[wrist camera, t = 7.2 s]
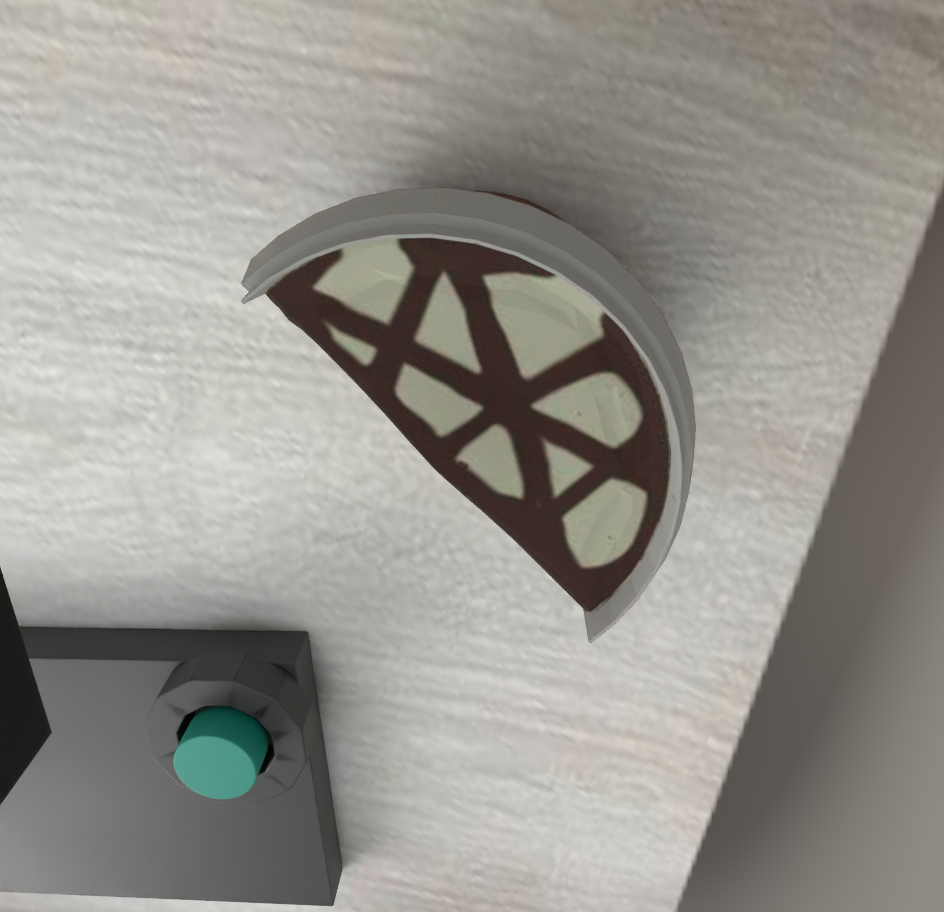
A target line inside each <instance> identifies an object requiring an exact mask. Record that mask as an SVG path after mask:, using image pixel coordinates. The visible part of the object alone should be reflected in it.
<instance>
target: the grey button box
mask: <svg viewBox="0 0 944 912" xmlns="http://www.w3.org/2000/svg"><path fill="white" fill-rule="evenodd" d="M19 629H20V632H21V635H22V638H23V641H24V645H25V648H26V651H27V654H28V657H29V661H30V664H31V667H32V670H33V673H34V677H35V680H36V683H37V686H38V689H39V693H40V696H41V699H42V702H43V705H44V709H45V712H46V715H47V718H48V721H49V725H50V728H51V731H52V733H51V735H50V736H49V738H48V739H47V740H46V742H45V743H44V745H43V746H42V747H41V749H40V750H39V752H38V753H37V754H36V756H35V757H34V759H33V760H32V761H31V763H30V764H29V766H28V767H27V768H26V770H25V771H24V773H23V774H22V776H21V777H20V778H19V780H18V781H17V783H16V784H15V785H14V787H13V788H12V790H11V791H10V792H9V794H8V795H7V797H6V798H5V799H4V801H3V802H2V804H1V805H0V892H23V893H46V894H68V895H91V896H114V897H137V898H159V899H182V900H205V901H227V902H250V903H273V904H296V905H318V906H333V905H334V901H335V897H336V893H337V889H338V885H339V881H340V877H341V873H342V864H341V857H340V851H339V844H338V837H337V830H336V823H335V816H334V810H333V803H332V796H331V789H330V782H329V775H328V769H327V762H326V755H325V748H324V741H323V734H322V727H321V721H320V714H319V707H318V700H317V693H316V686H315V680H314V673H313V666H312V659H311V652H310V645H309V639H308V633H307V632H273V631H209V630H145V629H82V628H19ZM216 706H225V707H232V708H235V709H238V710H240V711H242V712H244V713H247V714H249V715H251V716H252V717H254V718H255V719H256V720H257V721H258V722H259V723H260V724H261V725H262V727H263V728H264V730H265V732H266V734H267V738H268V750H267V753H266V756H265V758H264V761H263V763H262V766H261V768H260V771H259V773H258V776H257V778H256V781H255V783H254V785H253V786H252V788H251V789H250V790H249V791H248V792H246V793H245V794H243V795H241V796H239V797H236V798H232V799H214V798H209V797H206V796H203V795H201V794H198V793H196V792H195V791H193V790H191V789H190V788H189V787H187V786H186V785H185V784H184V783H183V782H182V781H181V780H180V778H179V777H178V775H177V773H176V771H175V768H174V753H175V751H176V749H177V747H178V745H179V743H180V741H181V739H182V737H183V735H184V733H185V732H186V730H187V728H188V726H189V724H190V722H191V720H192V719H193V718H194V716H195V715H197V714H198V713H199V712H201V711H203V710H205V709H207V708H211V707H216Z"/></svg>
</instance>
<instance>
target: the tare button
mask: <svg viewBox="0 0 944 912" xmlns="http://www.w3.org/2000/svg"><path fill="white" fill-rule="evenodd" d="M267 750H268V738H267V734H266V732H265V730H264V728H263V727H262V725H261V724H260V723H259V722H258V721H257V720H256V719H255V718H254V717H252V716H251V715H249V714H247V713H244V712H242V711H240V710H238V709H235V708H232V707H225V706H216V707H211V708H207V709H205V710H203V711H201V712H199V713H198V714H197V715H195V716H194V718H193V719H192V720H191V722H190V724H189V726H188V728H187V730H186V732H185V733H184V735H183V737H182V739H181V741H180V743H179V745H178V747H177V749H176V751H175V753H174V768H175V771H176V773H177V775H178V777H179V778H180V780H181V781H182V782H183V783H184V784H185V785H186V786H187V787H189V788H190V789H191V790H193V791H195V792H196V793H198V794H201V795H203V796H206V797H209V798H214V799H232V798H236V797H239V796H241V795H243V794H245V793H246V792H248V791H249V790H250V789H251V788H252V786H253V785H254V783H255V781H256V778H257V776H258V773H259V771H260V768H261V766H262V763H263V761H264V758H265V756H266V753H267Z"/></svg>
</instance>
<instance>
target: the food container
mask: <svg viewBox="0 0 944 912" xmlns="http://www.w3.org/2000/svg"><path fill="white" fill-rule="evenodd" d="M241 284H242V285H243V286H244V287H245V288H246V289H247V290H248V291H249V292H248V293H247V295H246V296H245V297H244V298H243V299H242V300H241V302H242V303H243V304H245V303H247V302H249V301H251V300H253V299H255V298H257V297H259V296H261V295H263V294H266V295H267V296H268V297H269V298H270V300H271V301H272V302H273V303H274V304H275V305H276V306H278V307H279V308H280V310H281V311H282V312H283V313H284V315H285V316H286V317H287V318H288V320H289V321H291V322H292V323H294V324H295V325H296V326H298V327H299V328H300V329H302V330H303V331H304V332H305V333H306V334H307V335H308V336H309V337H310V338H311V339H313V340H314V341H315V342H316V343H317V344H318V345H319V346H320V347H321V348H322V349H323V350H324V351H325V352H326V353H327V354H328V355H329V356H330V357H331V358H332V359H333V360H334V361H335V362H336V363H337V364H338V365H339V366H340V367H341V368H342V369H343V370H344V371H345V372H346V373H347V374H348V375H349V376H350V377H351V378H352V379H353V380H354V382H355V383H356V384H357V385H358V386H359V387H360V388H361V389H362V390H363V391H364V392H365V393H366V394H367V395H368V396H369V397H370V399H371V400H372V401H373V402H374V403H375V404H376V405H377V406H378V407H379V408H380V409H381V410H382V411H383V412H384V413H385V415H386V416H387V417H388V418H389V419H390V420H391V421H392V422H393V424H394V425H395V426H396V427H397V428H398V429H399V430H400V431H401V433H402V434H403V435H404V436H405V437H406V438H407V439H408V440H409V442H410V443H411V444H412V445H413V446H414V447H415V448H416V449H417V450H418V451H419V452H420V453H421V455H422V456H423V457H424V458H425V459H426V460H427V461H428V462H429V463H430V465H431V466H432V467H433V468H434V469H435V470H436V471H437V472H438V473H439V474H441V475H442V476H443V477H444V478H445V479H446V480H447V481H448V482H449V483H451V484H452V485H453V486H454V487H455V488H456V489H457V490H458V491H460V492H461V493H462V494H463V495H464V496H465V497H466V498H468V499H469V500H470V501H471V502H472V503H474V504H475V505H476V506H477V507H478V508H479V509H481V510H482V511H483V512H484V513H485V514H486V515H487V516H488V517H489V518H491V519H492V520H493V521H494V522H495V523H496V524H497V525H498V526H499V527H500V528H502V529H503V530H504V531H505V532H506V533H507V534H508V535H509V536H510V537H512V538H513V539H514V540H515V541H516V542H517V543H518V544H519V545H520V546H521V547H522V548H523V549H524V550H525V551H526V552H527V553H528V554H529V555H530V556H531V557H532V558H533V559H534V560H535V561H536V562H537V563H538V564H539V565H540V566H541V567H542V568H543V569H544V570H545V571H546V572H547V573H548V574H549V575H550V576H551V577H552V578H553V579H554V580H555V581H556V582H557V583H558V584H559V585H560V586H561V587H562V588H563V589H564V590H565V591H566V592H567V593H568V594H569V595H570V596H571V597H572V598H573V599H574V600H575V601H576V602H577V603H578V604H579V605H580V606H581V607H582V608H583V610H584V616H585V622H586V629H587V635H588V641H589V642H590V643H592V642H593V641H594V640H596V639H597V638H598V637H599V636H601V635H602V634H603V633H605V632H606V631H607V630H608V629H610V628H611V627H612V626H613V625H615V624H616V623H617V622H618V621H619V619H620V618H621V617H622V616H623V615H624V614H625V613H626V612H627V611H628V610H629V609H630V608H631V607H632V606H633V604H634V603H635V602H636V601H637V600H638V599H639V598H640V596H641V595H642V593H643V592H644V590H645V589H646V587H647V586H648V584H649V583H650V581H651V580H652V578H653V577H654V575H655V574H656V572H657V571H658V569H659V568H660V567H661V565H662V564H663V562H664V561H665V559H666V557H667V555H668V552H669V550H670V548H671V546H672V544H673V541H674V539H675V537H676V535H677V532H678V530H679V528H680V525H681V521H682V517H683V513H684V509H685V506H686V502H687V498H688V494H689V489H690V482H691V475H692V469H693V460H694V446H695V432H696V424H695V414H694V404H693V395H692V388H691V384H690V381H689V377H688V374H687V370H686V367H685V363H684V360H683V356H682V353H681V350H680V348H679V346H678V344H677V342H676V340H675V338H674V336H673V334H672V332H671V330H670V328H669V326H668V324H667V322H666V319H665V317H664V315H663V314H662V313H661V311H660V310H659V308H658V307H657V306H656V304H655V303H654V301H653V300H652V299H651V297H650V296H649V294H648V293H647V292H646V290H645V289H644V288H643V286H642V285H641V283H640V282H639V281H638V280H637V279H636V278H635V277H634V276H633V275H632V274H631V273H630V272H629V271H628V270H627V269H626V268H625V267H624V266H623V265H622V264H621V263H620V262H619V261H618V260H617V259H616V258H615V257H614V256H613V255H612V254H611V253H610V252H609V251H608V250H606V249H605V248H603V247H602V246H600V245H599V244H598V243H596V242H595V241H593V240H592V239H590V238H589V237H588V236H586V235H585V234H583V233H582V232H580V231H579V230H578V229H576V228H575V227H573V226H572V225H570V224H568V223H566V222H564V221H563V220H562V219H560V218H559V217H557V216H556V215H554V214H553V213H551V212H550V211H549V210H547V209H544V208H542V207H540V206H538V205H536V204H534V203H532V202H529V201H527V200H525V199H521V198H517V197H514V196H510V195H507V194H503V193H495V192H486V191H466V190H458V189H450V188H420V189H397V190H393V191H388V192H383V193H378V194H373V195H368V196H363V197H358V198H354V199H352V200H349V201H347V202H344V203H341V204H339V205H336V206H334V207H331V208H329V209H326V210H323V211H321V212H318V213H316V214H314V215H312V216H310V217H309V218H307V219H305V220H304V221H302V222H300V223H299V224H297V225H295V226H294V227H292V228H290V229H289V230H287V231H285V232H284V233H282V234H280V235H279V236H278V237H277V238H275V239H274V240H273V241H272V242H271V243H270V244H268V245H267V246H266V247H265V248H264V249H263V250H261V251H260V252H259V253H258V254H257V255H256V256H254V257H253V258H252V259H251V261H250V263H249V266H248V268H247V271H246V273H245V276H244V278H243V280H242V283H241Z"/></svg>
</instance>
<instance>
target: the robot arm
mask: <svg viewBox="0 0 944 912" xmlns="http://www.w3.org/2000/svg"><path fill="white" fill-rule="evenodd" d="M51 733H52V731H51V728H50V725H49V721H48V718H47V715H46V712H45V709H44V705H43V702H42V699H41V696H40V693H39V689H38V686H37V683H36V680H35V677H34V673H33V670H32V667H31V664H30V661H29V657H28V654H27V651H26V648H25V645H24V641H23V638H22V635H21V632H20V629H19V625H18V622H17V619H16V616H15V613H14V609H13V606H12V603H11V600H10V597H9V593H8V590H7V587H6V584H5V581H4V578H3V574H2V571H1V568H0V805H1V804H2V802H3V801H4V799H5V798H6V797H7V795H8V794H9V792H10V791H11V790H12V788H13V787H14V785H15V784H16V783H17V781H18V780H19V778H20V777H21V776H22V774H23V773H24V771H25V770H26V768H27V767H28V766H29V764H30V763H31V761H32V760H33V759H34V757H35V756H36V754H37V753H38V752H39V750H40V749H41V747H42V746H43V745H44V743H45V742H46V740H47V739H48V738H49V736H50V735H51Z"/></svg>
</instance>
